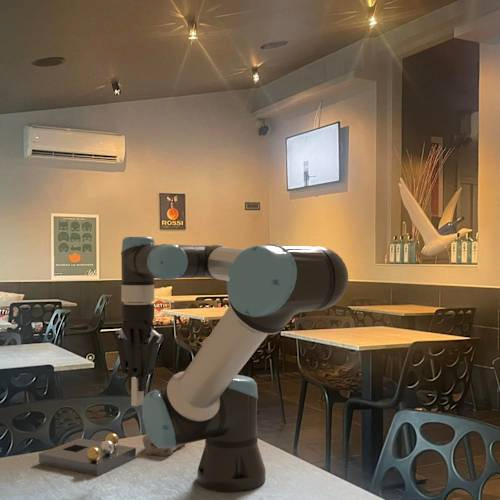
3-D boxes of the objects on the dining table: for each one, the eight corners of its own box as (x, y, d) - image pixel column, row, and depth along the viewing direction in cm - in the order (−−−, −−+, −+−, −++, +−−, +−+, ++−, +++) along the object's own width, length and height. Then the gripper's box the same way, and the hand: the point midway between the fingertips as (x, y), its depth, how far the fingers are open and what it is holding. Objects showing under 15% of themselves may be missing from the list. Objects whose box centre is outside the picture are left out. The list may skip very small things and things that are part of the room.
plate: (135, 458, 150) (135, 447, 150) (97, 476, 138) (97, 465, 138) (79, 447, 158) (79, 438, 158) (38, 463, 146) (38, 453, 146)
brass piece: (103, 460, 141) (103, 446, 141) (94, 464, 138) (94, 450, 138) (93, 458, 143) (93, 444, 143) (83, 462, 140) (83, 448, 140)
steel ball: (117, 453, 146) (117, 439, 146) (108, 457, 143) (108, 443, 143) (106, 451, 148) (106, 438, 148) (97, 455, 145) (97, 441, 145)
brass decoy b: (121, 445, 152) (121, 432, 152) (112, 449, 149) (112, 435, 149) (111, 443, 154) (111, 430, 154) (102, 447, 151) (102, 434, 151)
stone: (191, 441, 164) (155, 441, 165) (189, 420, 163) (153, 420, 165) (178, 462, 151) (139, 462, 152) (176, 439, 150) (137, 440, 152)
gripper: (170, 303, 142) (170, 404, 142) (125, 301, 148) (125, 398, 148) (151, 305, 136) (150, 411, 135) (105, 303, 141) (104, 405, 141)
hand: (137, 404), depth 142 cm, fingers closed
